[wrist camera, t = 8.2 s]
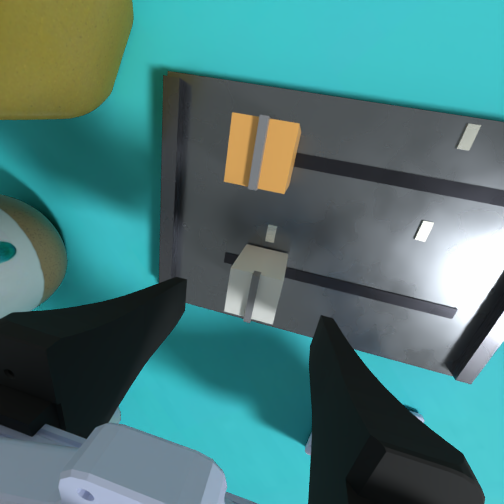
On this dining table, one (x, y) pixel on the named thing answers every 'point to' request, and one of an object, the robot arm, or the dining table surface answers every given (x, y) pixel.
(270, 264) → the fader
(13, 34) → the flower pot
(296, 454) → the dining table surface
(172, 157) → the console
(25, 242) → the vase
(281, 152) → the fader
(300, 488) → the dining table surface
